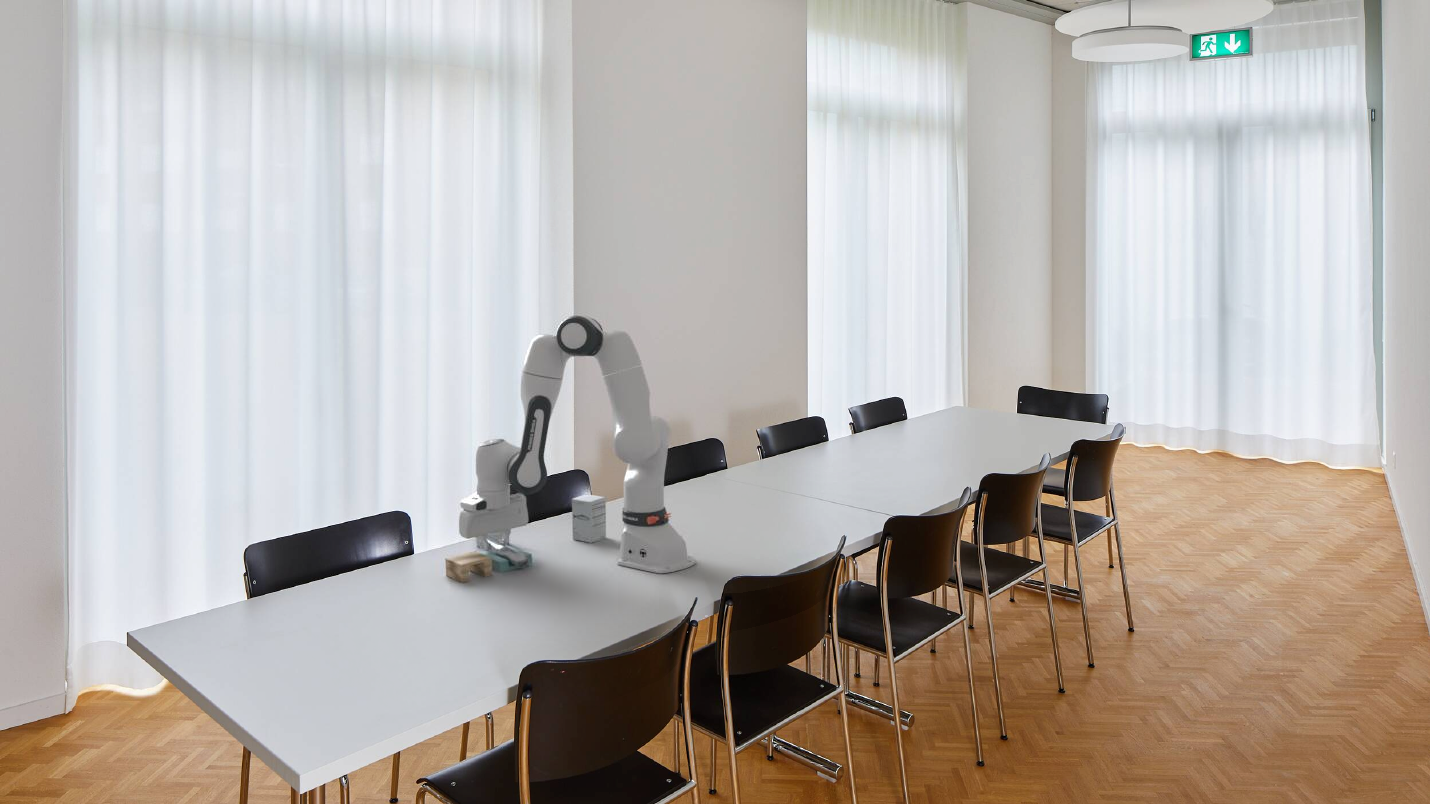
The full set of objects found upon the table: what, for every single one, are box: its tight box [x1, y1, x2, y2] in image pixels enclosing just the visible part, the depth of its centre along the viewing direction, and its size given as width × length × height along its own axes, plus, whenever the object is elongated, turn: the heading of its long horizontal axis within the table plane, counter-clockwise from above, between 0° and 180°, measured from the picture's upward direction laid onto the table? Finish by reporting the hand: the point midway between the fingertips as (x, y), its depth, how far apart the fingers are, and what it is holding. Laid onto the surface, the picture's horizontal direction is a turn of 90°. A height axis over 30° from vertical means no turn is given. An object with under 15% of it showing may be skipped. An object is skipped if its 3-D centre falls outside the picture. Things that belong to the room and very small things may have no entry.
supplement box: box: [571, 493, 607, 544], centre depth 285 cm, size 7×7×13 cm
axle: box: [479, 538, 528, 568], centre depth 263 cm, size 18×4×4 cm, turn 46°
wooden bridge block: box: [445, 551, 493, 583], centre depth 253 cm, size 8×9×5 cm
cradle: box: [478, 544, 533, 573], centre depth 263 cm, size 12×10×3 cm
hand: (495, 547), depth 265 cm, fingers open, 4 cm apart
